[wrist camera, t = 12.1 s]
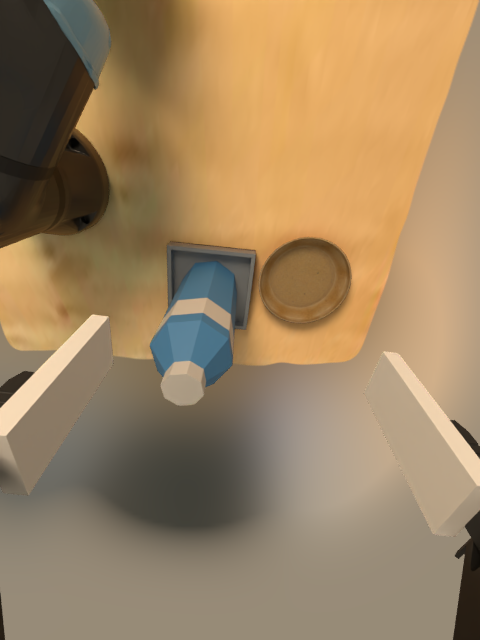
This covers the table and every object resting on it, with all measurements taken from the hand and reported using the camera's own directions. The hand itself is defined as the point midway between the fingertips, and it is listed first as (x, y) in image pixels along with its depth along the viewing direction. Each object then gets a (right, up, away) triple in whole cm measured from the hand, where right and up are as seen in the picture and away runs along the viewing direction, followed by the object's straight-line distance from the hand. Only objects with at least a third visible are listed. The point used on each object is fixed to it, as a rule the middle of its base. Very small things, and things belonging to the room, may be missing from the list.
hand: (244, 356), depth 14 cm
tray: (-5, +8, +36) cm, 37 cm away
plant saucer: (+10, +9, +35) cm, 38 cm away
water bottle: (-5, +8, +35) cm, 36 cm away
